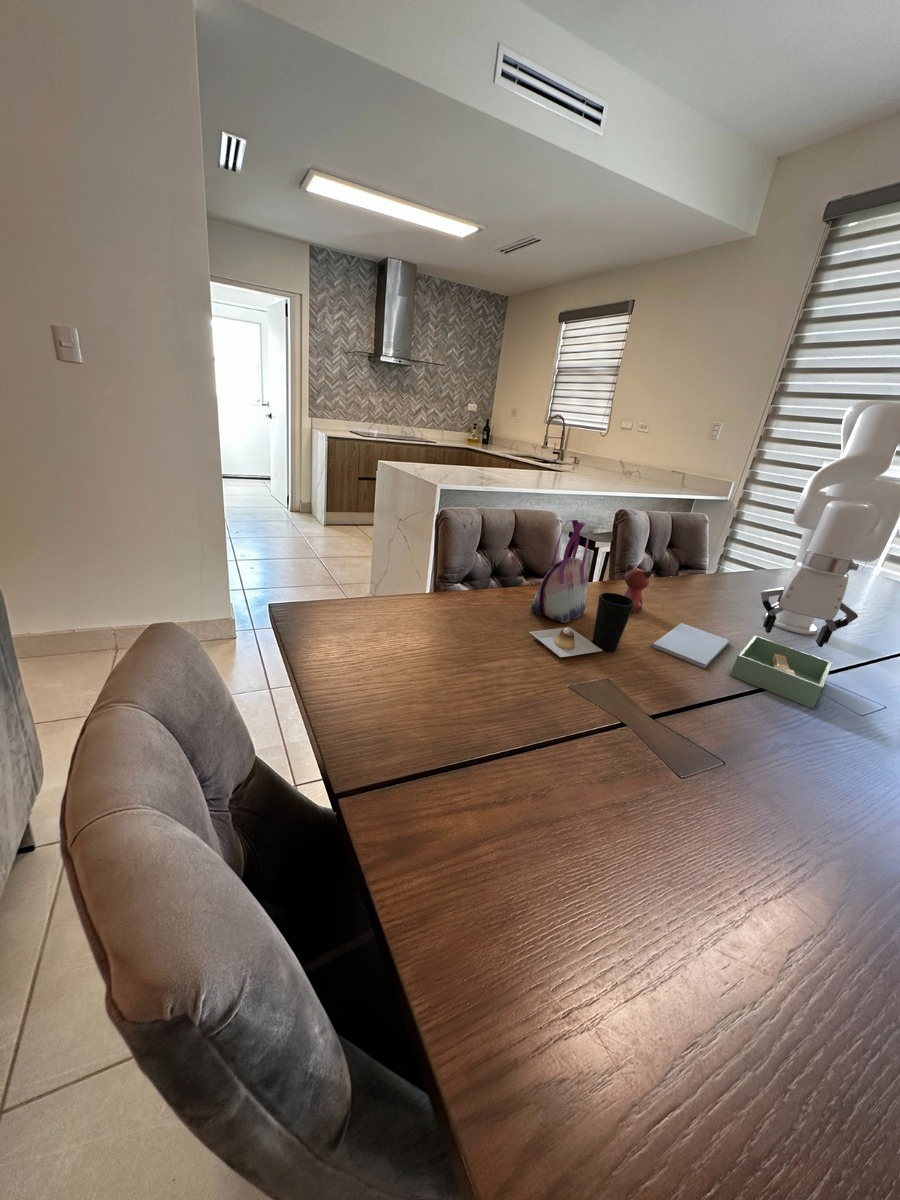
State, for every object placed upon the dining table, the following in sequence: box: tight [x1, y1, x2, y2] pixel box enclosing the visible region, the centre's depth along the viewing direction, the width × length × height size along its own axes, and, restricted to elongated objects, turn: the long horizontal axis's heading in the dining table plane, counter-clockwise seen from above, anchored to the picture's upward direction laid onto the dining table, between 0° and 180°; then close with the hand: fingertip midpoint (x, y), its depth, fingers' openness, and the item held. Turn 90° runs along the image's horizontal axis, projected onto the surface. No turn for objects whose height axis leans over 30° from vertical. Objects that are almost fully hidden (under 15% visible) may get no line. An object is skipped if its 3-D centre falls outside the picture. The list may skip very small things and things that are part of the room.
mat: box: [651, 622, 731, 669], centre depth 116 cm, size 20×12×1 cm, turn 137°
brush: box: [770, 654, 796, 676], centre depth 104 cm, size 12×4×3 cm, turn 152°
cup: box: [592, 592, 635, 653], centre depth 108 cm, size 8×8×12 cm
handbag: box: [531, 519, 590, 624], centre depth 120 cm, size 21×10×25 cm, turn 135°
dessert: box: [529, 626, 604, 658], centre depth 107 cm, size 12×12×5 cm
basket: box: [729, 635, 833, 709], centre depth 104 cm, size 16×15×5 cm
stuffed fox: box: [623, 563, 654, 613], centre depth 131 cm, size 8×11×12 cm
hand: (792, 637), depth 102 cm, fingers open, 9 cm apart
